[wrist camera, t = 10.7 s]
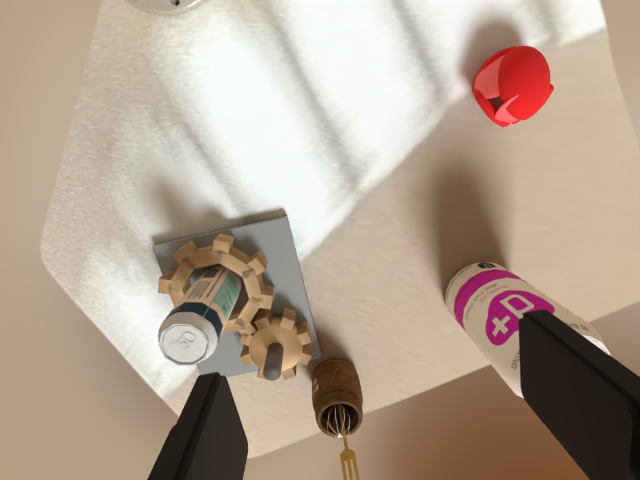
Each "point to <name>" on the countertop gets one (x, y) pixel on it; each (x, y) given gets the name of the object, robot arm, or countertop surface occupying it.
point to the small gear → (277, 344)
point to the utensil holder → (338, 404)
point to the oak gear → (233, 260)
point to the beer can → (200, 317)
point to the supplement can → (503, 314)
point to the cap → (513, 84)
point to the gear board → (279, 272)
